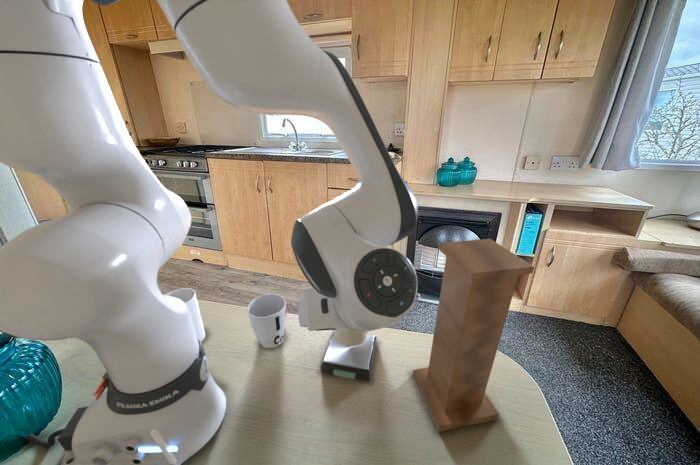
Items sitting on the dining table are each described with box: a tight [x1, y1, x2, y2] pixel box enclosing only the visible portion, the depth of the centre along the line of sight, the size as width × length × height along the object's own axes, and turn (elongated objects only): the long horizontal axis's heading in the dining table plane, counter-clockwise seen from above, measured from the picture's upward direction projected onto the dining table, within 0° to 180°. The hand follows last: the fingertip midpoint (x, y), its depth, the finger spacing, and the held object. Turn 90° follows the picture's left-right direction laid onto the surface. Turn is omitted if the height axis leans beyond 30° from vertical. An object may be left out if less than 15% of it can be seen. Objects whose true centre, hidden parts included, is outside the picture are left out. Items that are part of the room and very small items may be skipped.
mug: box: [165, 287, 206, 343], centre depth 60 cm, size 10×7×12 cm, turn 178°
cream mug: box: [335, 330, 369, 346], centre depth 56 cm, size 7×9×10 cm
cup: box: [246, 293, 287, 349], centre depth 62 cm, size 8×8×10 cm
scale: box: [320, 330, 377, 382], centre depth 59 cm, size 10×10×3 cm
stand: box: [412, 238, 535, 433], centre depth 46 cm, size 11×11×30 cm
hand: (350, 311), depth 56 cm, fingers closed on cream mug, 7 cm apart
